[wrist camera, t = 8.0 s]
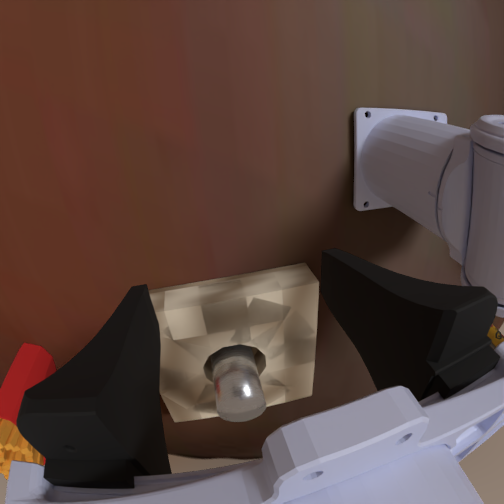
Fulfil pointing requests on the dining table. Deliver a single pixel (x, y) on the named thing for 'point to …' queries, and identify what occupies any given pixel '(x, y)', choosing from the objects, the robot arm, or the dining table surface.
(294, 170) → the dining table surface
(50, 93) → the dining table surface
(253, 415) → the pin
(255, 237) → the dining table surface
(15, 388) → the french fries
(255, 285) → the bore block
